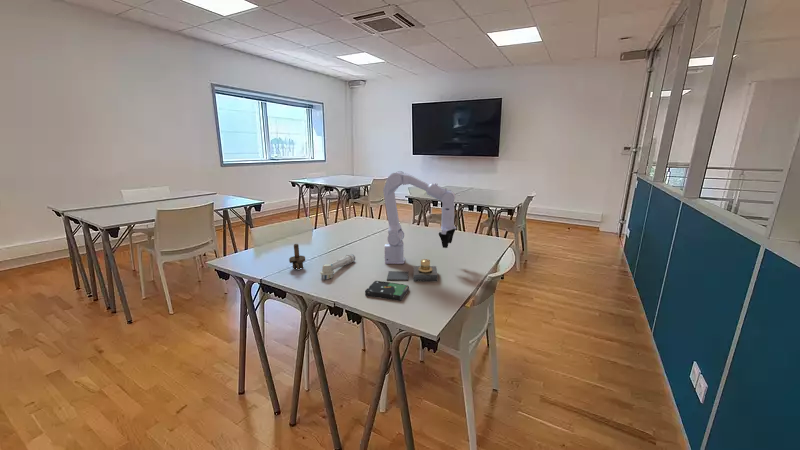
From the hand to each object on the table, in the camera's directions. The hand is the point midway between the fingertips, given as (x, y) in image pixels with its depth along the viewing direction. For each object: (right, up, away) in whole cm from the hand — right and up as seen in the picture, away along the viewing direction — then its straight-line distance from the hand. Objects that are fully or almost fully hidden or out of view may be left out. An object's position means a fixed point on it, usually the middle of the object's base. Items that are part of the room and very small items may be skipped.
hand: (447, 245), depth 153 cm
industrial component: (-71, -11, +2) cm, 71 cm away
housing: (-11, -13, -11) cm, 20 cm away
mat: (-23, -13, -10) cm, 28 cm away
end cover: (-11, -13, -11) cm, 20 cm away
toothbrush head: (-51, -12, -1) cm, 52 cm away
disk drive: (-27, -18, -25) cm, 41 cm away
